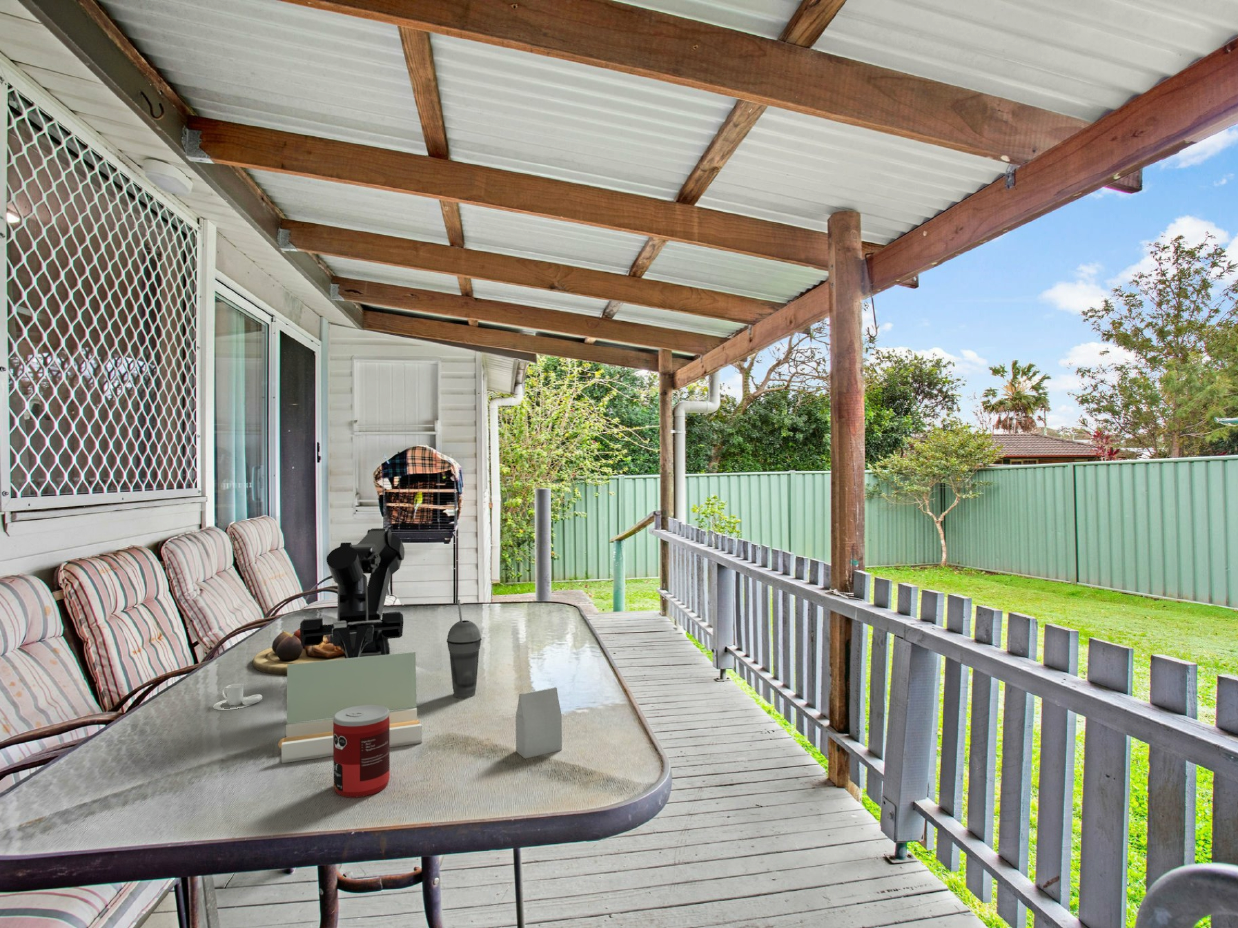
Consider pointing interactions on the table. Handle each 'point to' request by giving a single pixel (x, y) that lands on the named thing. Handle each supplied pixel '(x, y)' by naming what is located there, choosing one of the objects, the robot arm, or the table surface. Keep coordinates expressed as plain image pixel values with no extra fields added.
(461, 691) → the beverage cup
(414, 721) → the orange rounded bar
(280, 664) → the wooden plate with food
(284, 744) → the cable duct
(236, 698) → the teacup and saucer
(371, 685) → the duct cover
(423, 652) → the table surface
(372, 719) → the canned food
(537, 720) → the grey gable bag
